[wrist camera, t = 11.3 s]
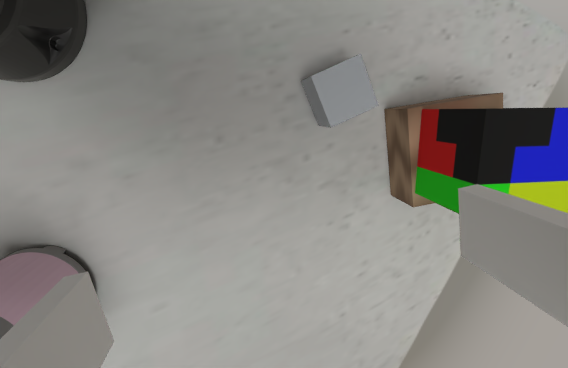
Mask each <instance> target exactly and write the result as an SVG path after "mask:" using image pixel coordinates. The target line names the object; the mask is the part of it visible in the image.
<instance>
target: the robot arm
mask: <svg viewBox="0 0 568 368" xmlns="http://www.w3.org/2000/svg"><path fill="white" fill-rule="evenodd" d="M85 32H86V9H85V4H84V0H0V79H1V80H8V81H16V82H32V81H39V80H43V79H46V78H49V77H51V76H54V75H56V74H57V73H59V72H61V71H62V70H63V69H65V68H66V67H67V66H68V65H69V64H70V63H71V62H72V61H73V60H74V58H75V57H76V56H77V54H78V52H79V50H80V48H81V46H82V44H83V41H84V37H85ZM458 197H459V223H460V249H461V256H462V257H463V258H465V259H466V260H468V261H469V262H471V263H472V264H474V265H476V266H477V267H479V268H480V269H481V270H483V271H484V272H486V273H487V274H489V275H491V276H492V277H493V278H495V279H497V280H498V281H499V282H501V283H503V284H504V285H506V286H507V287H508V288H510V289H512V290H513V291H515V292H516V293H518V294H519V295H521V296H522V297H524V298H525V299H527V300H528V301H530V302H532V303H533V304H534V305H536V306H537V307H539V308H540V309H542V310H543V311H545V312H546V313H548V314H549V315H551V316H552V317H554V318H555V319H557V320H558V321H560V322H561V323H563V324H564V325H566V326H567V327H568V213H566V212H563V211H559V210H556V209H553V208H550V207H547V206H544V205H541V204H538V203H534V202H531V201H528V200H525V199H522V198H519V197H516V196H513V195H510V194H506V193H503V192H500V191H497V190H494V189H491V188H488V187H485V186H481V185H478V184H476V185H472V186H467V187H463V188H458ZM113 342H114V339H113V336H112V334H111V331H110V328H109V326H108V323H107V320H106V318H105V315H104V312H103V310H102V307H101V305H100V302H99V299H98V297H97V294H96V291H95V289H94V286H93V283H92V281H91V278H90V275H89V273H88V272H83V273H79V274H74V275H70V276H65V277H63V278H62V279H61V280H60V281H59V282H58V283H57V284H56V285H55V286H54V287H53V288H52V289H51V290H50V291H49V292H48V293H47V294H46V295H45V296H44V297H43V298H42V299H41V300H40V301H39V302H38V303H36V304H35V305H34V306H33V307H32V308H31V309H30V310H29V311H28V312H27V313H26V314H25V315H24V316H23V317H22V318H21V319H20V320H19V321H18V322H17V323H16V324H15V325H14V326H13V327H12V328H11V329H10V330H9V331H8V332H7V333H6V334H5V335H4V336H3V337H2V338H1V339H0V368H100V367H101V365H102V363H103V361H104V360H105V358H106V356H107V354H108V352H109V350H110V348H111V346H112V344H113Z"/></svg>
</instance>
